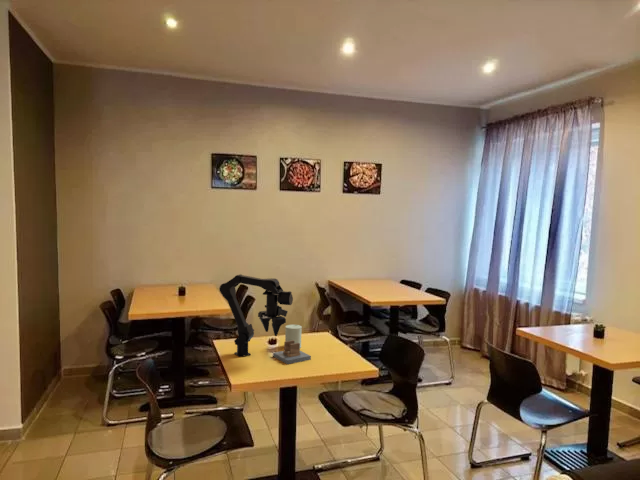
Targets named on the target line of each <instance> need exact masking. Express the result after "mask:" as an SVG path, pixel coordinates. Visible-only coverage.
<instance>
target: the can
mask: <svg viewBox="0 0 640 480" xmlns="http://www.w3.org/2000/svg"><path fill="white" fill-rule="evenodd" d="M284 326H285V330H284V332H285V333H284V334H285V339H284V342H285V341H291V340H294V343H300V349H301V348H302V332H303V331H302V330H303V329H302V328H303V326H302V325H300V324H287V325H284Z"/></svg>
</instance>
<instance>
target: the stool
mask: <svg viewBox="0 0 640 480" xmlns="http://www.w3.org/2000/svg"><path fill="white" fill-rule="evenodd" d="M283 343H284V345H283V346H284V347H283V348H284V349H283V350H282V351H283V354H285V355H287V356H289V357H294V356H299V355H300V351H301V348H300V343H294V340H291V341H285V340H284V342H283Z"/></svg>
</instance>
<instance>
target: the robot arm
mask: <svg viewBox="0 0 640 480" xmlns="http://www.w3.org/2000/svg"><path fill="white" fill-rule="evenodd" d="M240 284H243V285H249V286H254V287H260V288H261V289H263V290H264V291H263V293H262V295H264V296H266V299H265V300H266V301H265V303H266V305H265V304H264V308H266V309H265V310H261V311H259V312H257V317H258V318H259V320H260V322H261V324H262V327H263V329H264V331H265V332H266V333H267V332H269V329H270V327H269V326H270V321H271V327H272V330H273V334H274V336H275V337H277V336H278V333H279V331H280V329H281V327H282V326H283V325H285V324H286V323H287V319H286V318H287V316H288V315H287V314H288V310H287V309H286V310H285V309H283V308H282V306H280V305H285V306H292V304H293V303H294V302H293V301H294V298H293V294H292V291H284V290H283V288H282V287H281V285H280V281H279V280H278V279H277V278H259V277H254V276H249V275H248V276H247V275H243V274H241V273H240V274H237V275H235V276H234V277H232V278H231V279H230V280H228V281H227V282H224V283H222V284H220V285H219V289H218V290H219V292H220V294H221V296H222V297H223V298H224V299H225V300H226V301H227V303H228V306H229V309H230V311H231V313H232V316H233V318H234V320H235V323H236V325H237V336H238V337H236V338H235V339H234V344H235V345H236V351H235V352H234V355H236V356H238V357H240V358H241V357H246V356H251V354H252V353H250V352H249V342H251V339H252V338H254V336H255V329H254V327H253V325H252V323H250V324H249V323H247V321H246V318H245V315H244V313H243V311H242V309H241V305H240V304H239V301H238V299H237V290H236V287H237V286H239V285H240ZM278 304H279V305H278Z"/></svg>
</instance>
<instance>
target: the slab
mask: <svg viewBox="0 0 640 480" xmlns="http://www.w3.org/2000/svg"><path fill="white" fill-rule="evenodd" d="M283 351H284V350H280V351H275V352H273V353H272V357H273V356H274V357H273V358H275V359H277V360H278V361H281V362H282V363H284V364H286V365H291V364H297V363H300V362H307V361H310V360H311V359H312V355H310V354H308V353H306V352H304V351H301V350H300V355H299V356H294V357H289V356H287V355H285V354H283Z"/></svg>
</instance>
